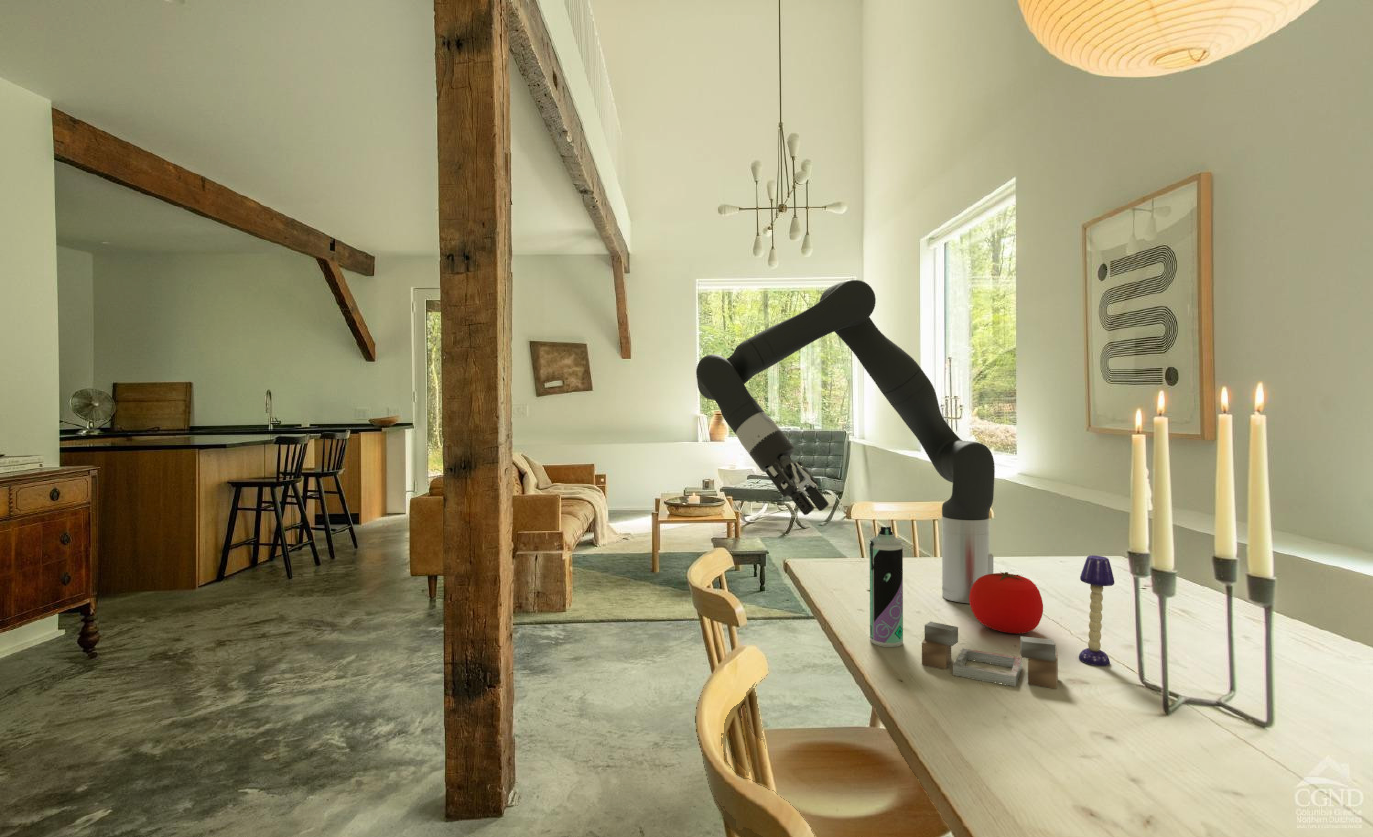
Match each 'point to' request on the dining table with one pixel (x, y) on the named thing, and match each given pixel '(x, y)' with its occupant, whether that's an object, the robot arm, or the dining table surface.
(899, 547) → the spray can
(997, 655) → the socket collar
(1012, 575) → the tomato
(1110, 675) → the dining table surface
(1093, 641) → the toy lamp
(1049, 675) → the stand
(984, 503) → the robot arm
